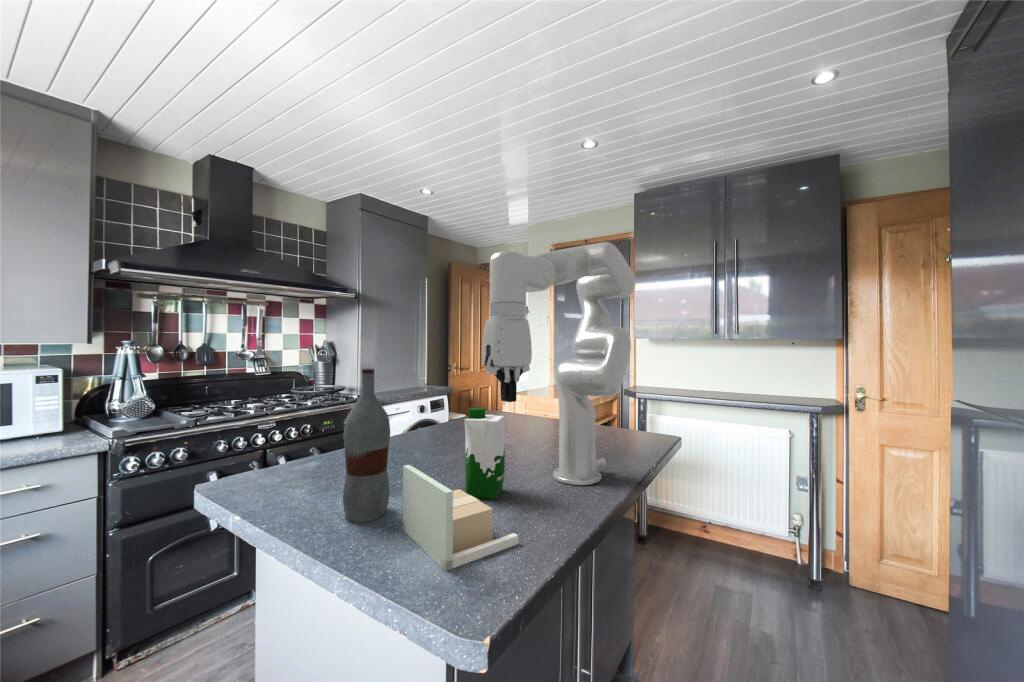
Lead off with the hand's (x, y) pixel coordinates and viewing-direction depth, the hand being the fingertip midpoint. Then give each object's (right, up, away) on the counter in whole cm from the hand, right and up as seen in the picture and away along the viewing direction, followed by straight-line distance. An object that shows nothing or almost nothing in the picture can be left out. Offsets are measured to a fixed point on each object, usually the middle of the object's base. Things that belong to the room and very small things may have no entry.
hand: (508, 400), depth 82 cm
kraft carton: (-10, -24, -10) cm, 27 cm away
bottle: (-30, -24, 0) cm, 38 cm away
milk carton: (-6, -24, +12) cm, 27 cm away
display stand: (-9, -23, -9) cm, 27 cm away
